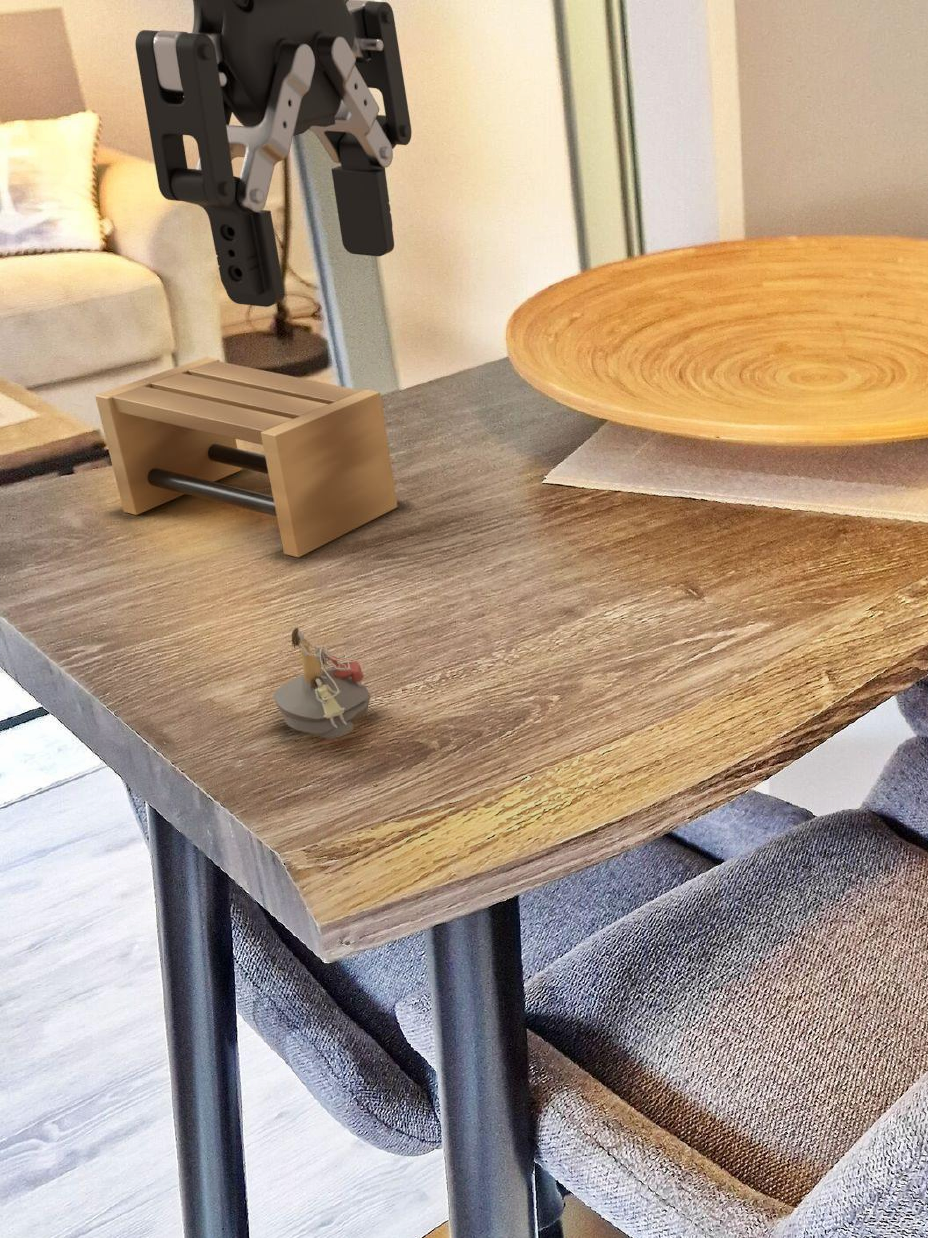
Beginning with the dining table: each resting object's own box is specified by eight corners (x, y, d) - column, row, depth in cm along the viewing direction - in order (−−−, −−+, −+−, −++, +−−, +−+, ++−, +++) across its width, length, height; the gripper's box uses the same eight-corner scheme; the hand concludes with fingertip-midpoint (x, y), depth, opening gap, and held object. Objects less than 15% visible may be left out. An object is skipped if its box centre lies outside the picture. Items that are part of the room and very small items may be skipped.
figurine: (268, 719, 76) (246, 615, 73) (355, 694, 78) (336, 592, 75) (302, 766, 72) (280, 658, 69) (391, 739, 75) (374, 633, 72)
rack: (298, 557, 93) (275, 435, 89) (123, 512, 98) (94, 395, 94) (397, 507, 100) (380, 392, 96) (229, 467, 105) (206, 356, 101)
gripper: (270, -156, 63) (330, 233, 71) (23, -156, 51) (129, 313, 59) (432, -149, 62) (475, 247, 70) (217, -148, 50) (299, 332, 58)
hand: (316, 277), depth 64 cm, fingers open, 8 cm apart
